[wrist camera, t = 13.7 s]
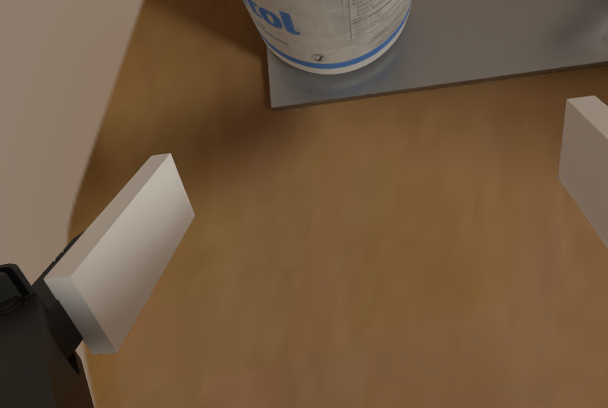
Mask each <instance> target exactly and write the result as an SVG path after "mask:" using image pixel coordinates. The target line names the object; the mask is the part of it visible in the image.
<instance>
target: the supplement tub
mask: <svg viewBox="0 0 608 408" xmlns="http://www.w3.org/2000/svg"><path fill="white" fill-rule="evenodd" d="M243 2H244V4H245V6H246V8H247V10H248V12H249V14H250V16H251V18H252V20H253V22H254V24H255V26H256V27H257V29H258V31H259V33H260V35H261V37H262V39H263V40H264V42H265V43H266V45H267V46H268V47H269V48H270V49H271V51H272V52H273V53H274V54H276V55H277V56H278V57H279V58H280V59H282V60H283V61H285V62H286V63H288V64H290V65H292V66H294V67H296V68H299V69H301V70H304V71H307V72H312V73H317V74H340V73H345V72H350V71H353V70H356V69H358V68H361V67H363V66H365V65H367V64H369V63H371V62H372V61H374V60H376V59H377V58H378V57H380V56H381V55H382V54H383V53H384V52H386V51H387V50H388V49H389V48H390V47H391V45H392V44H393V43H394V42H395V41H396V39H397V38H398V36H399V35H400V33H401V32H402V30H403V28H404V26H405V24H406V21H407V18H408V16H409V12H410V8H411V4H412V0H243Z"/></svg>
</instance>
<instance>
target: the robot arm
mask: <svg viewBox="0 0 608 408" xmlns="http://www.w3.org/2000/svg"><path fill="white" fill-rule="evenodd" d="M558 178H559V180H560V181H561V183H562V184H563V185H564V187H565V188H566V190H567V191H568V193H569V194H570V195H571V197H572V198H573V200H574V201H575V203H576V204H577V205H578V207H579V208H580V210H581V211H582V213H583V214H584V215H585V217H586V218H587V220H588V221H589V223H590V224H591V225H592V227H593V228H594V230H595V231H596V233H597V234H598V235H599V237H600V238H601V240H602V241H603V242H604V244H605V245H606V247H607V248H608V106H607V105H605V104H604V103H603V102H602V101H601V100H599V99H598V98H597V97H596V96H595V95H594V96H587V97H579V98H572V99H567V100H566V109H565V119H564V128H563V137H562V147H561V156H560V166H559V175H558ZM194 216H195V215H194V212H193V210H192V207H191V205H190V202H189V199H188V197H187V194H186V192H185V189H184V187H183V184H182V181H181V179H180V176H179V174H178V171H177V168H176V166H175V163H174V161H173V158H172V156H171V153H168V154H161V155H153V156H151V157H150V158H149V159H148V160H147V161H146V162H145V164H144V165H143V166H142V167H141V168H140V169H139V170H138V172H137V173H136V174H135V175H134V176H133V177H132V178H131V180H130V181H129V182H128V183H127V184H126V185H125V186H124V188H123V189H122V190H121V191H120V192H119V193H118V194H117V195H116V197H115V198H114V199H113V200H112V201H111V202H110V203H109V205H108V206H107V207H106V208H105V209H104V210H103V211H102V213H101V214H100V215H99V216H98V217H97V218H96V219H95V221H94V222H93V223H92V224H91V225H90V226H89V227H88V229H86V230H85V231H84V232H82V233H81V234H79V235H78V236H77V237H75V238H74V239H73V240H72V241H71V242H70V243H69V244H68V245H67V247H66V248H65V249H64V250H63V251H64V252H61V253H60V254H59V256H58V257H57V258H56V259H55V260H56V261H53V262H52V263H51V264H50V266H49V267H48V268H47V269H46V270H45V271H44V272H43V273H42V275H41V276H40V277H39V278H38V279H37V280H36V281H35V282H34V284H33V285H32V286H31V285H30V283H29V282H28V280H27V279H26V278H25V276H24V274H23V273H22V272H21V270H20V269H19V267H18V266H17V265H16V264H4V265H0V408H94V406H93V402H92V398H91V394H90V391H89V387H88V383H87V380H86V376H85V372H84V368H83V365H82V361H81V359H80V357H79V356H78V355H77V353H76V351H75V350H76V348H77V347H78V345H79V344H80V342H81V341H82V339H83V341H84V342H85V344H86V345H87V347H88V348H89V350H90V351H91V353H92V354H111V353H118V351H119V349H120V347H121V346H122V344H123V342H124V340H125V338H126V337H127V335H128V333H129V331H130V330H131V328H132V326H133V324H134V323H135V321H136V319H137V317H138V315H139V314H140V312H141V310H142V308H143V307H144V305H145V303H146V301H147V300H148V298H149V296H150V294H151V292H152V291H153V289H154V287H155V285H156V284H157V282H158V280H159V278H160V277H161V275H162V273H163V271H164V269H165V268H166V266H167V264H168V262H169V261H170V259H171V257H172V255H173V253H174V252H175V250H176V248H177V246H178V245H179V243H180V241H181V239H182V238H183V236H184V234H185V232H186V230H187V229H188V227H189V225H190V223H191V222H192V220H193V218H194Z"/></svg>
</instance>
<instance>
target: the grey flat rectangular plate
mask: <svg viewBox="0 0 608 408" xmlns="http://www.w3.org/2000/svg"><path fill="white" fill-rule="evenodd" d="M266 46H267V45H266ZM267 58H268V71H269V84H270V96H271V108H272V109H273V111H276V110H283V109H290V108H298V107H305V106H312V105H320V104H327V103H334V102H341V101H349V100H356V99H363V98H370V97H378V96H385V95H392V94H399V93H407V92H414V91H421V90H428V89H436V88H443V87H450V86H458V85H465V84H472V83H479V82H487V81H494V80H501V79H508V78H516V77H523V76H530V75H537V74H545V73H552V72H559V71H566V70H574V69H581V68H588V67H596V66H603V65H608V0H412V4H411V8H410V12H409V16H408V18H407V21H406V24H405V26H404V28H403V30H402V32H401V33H400V35H399V36H398V38H397V39H396V41H395V42H394V43H393V44H392V45H391V47H390V48H389V49H388V50H387V51H386V52H384V53H383V54H382V55H381V56H380V57H378V58H377V59H376V60H374V61H372V62H371V63H369V64H367V65H365V66H363V67H361V68H358V69H356V70H353V71H350V72H345V73H340V74H317V73H312V72H307V71H304V70H301V69H299V68H296V67H294V66H292V65H290V64H288V63H286V62H285V61H283V60H282V59H280V58H279V57H278V56H277V55H276V54H274V53H273V52H272V51H271V49H270V48H269V47H268V46H267Z"/></svg>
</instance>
